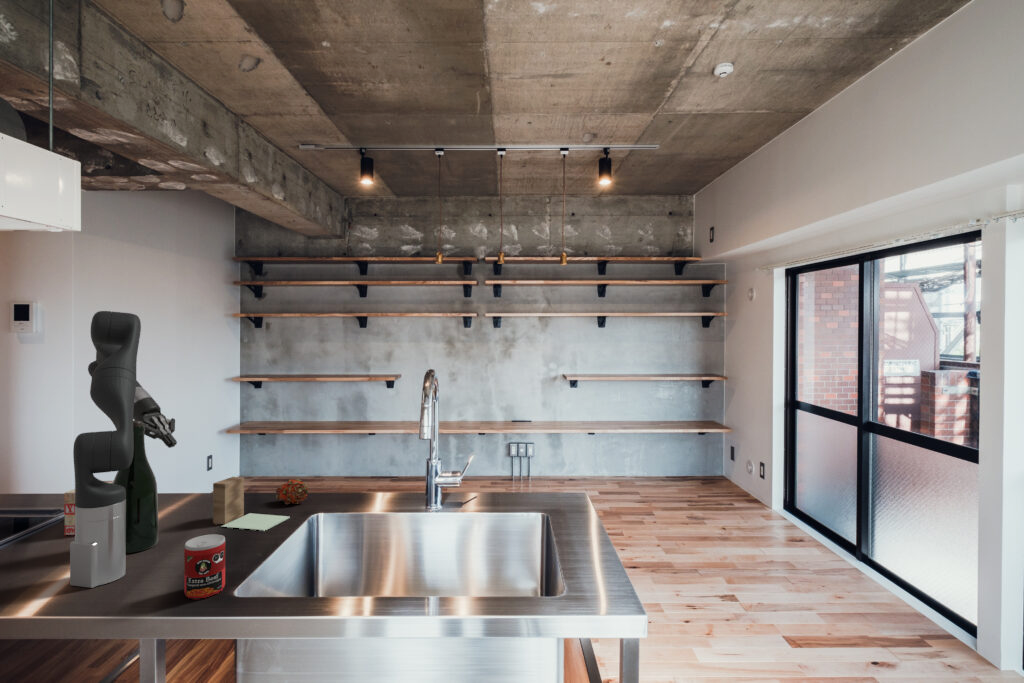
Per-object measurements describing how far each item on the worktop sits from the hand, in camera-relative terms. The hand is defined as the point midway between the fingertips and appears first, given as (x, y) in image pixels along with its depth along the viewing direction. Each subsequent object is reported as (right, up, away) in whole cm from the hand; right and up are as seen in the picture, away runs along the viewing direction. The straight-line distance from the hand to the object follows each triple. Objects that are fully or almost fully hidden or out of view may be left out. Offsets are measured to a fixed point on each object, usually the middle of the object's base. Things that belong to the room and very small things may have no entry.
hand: (173, 445), depth 168 cm
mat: (+28, -22, -6) cm, 36 cm away
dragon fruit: (+31, -22, +14) cm, 40 cm away
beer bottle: (+6, -22, -25) cm, 34 cm away
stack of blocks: (-17, -22, -7) cm, 28 cm away
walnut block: (+19, -22, -4) cm, 29 cm away
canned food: (+38, -22, -50) cm, 67 cm away
